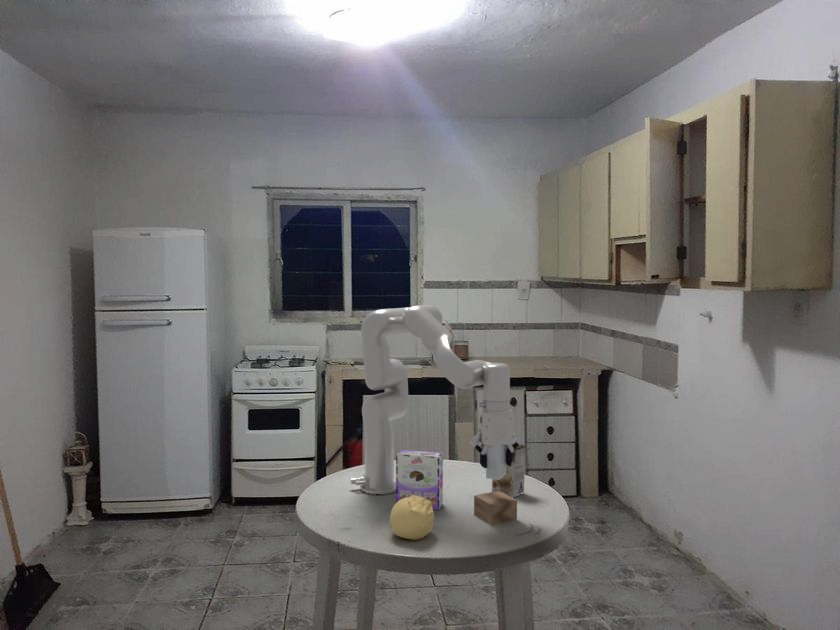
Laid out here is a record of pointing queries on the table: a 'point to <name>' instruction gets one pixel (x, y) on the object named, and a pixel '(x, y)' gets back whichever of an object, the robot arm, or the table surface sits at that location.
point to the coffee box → (512, 475)
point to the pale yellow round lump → (412, 517)
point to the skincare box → (496, 461)
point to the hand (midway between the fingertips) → (496, 465)
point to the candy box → (420, 476)
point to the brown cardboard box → (495, 507)
